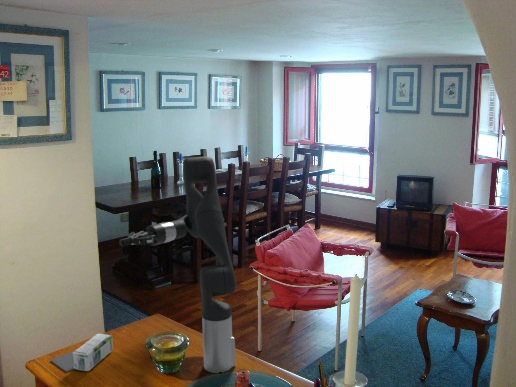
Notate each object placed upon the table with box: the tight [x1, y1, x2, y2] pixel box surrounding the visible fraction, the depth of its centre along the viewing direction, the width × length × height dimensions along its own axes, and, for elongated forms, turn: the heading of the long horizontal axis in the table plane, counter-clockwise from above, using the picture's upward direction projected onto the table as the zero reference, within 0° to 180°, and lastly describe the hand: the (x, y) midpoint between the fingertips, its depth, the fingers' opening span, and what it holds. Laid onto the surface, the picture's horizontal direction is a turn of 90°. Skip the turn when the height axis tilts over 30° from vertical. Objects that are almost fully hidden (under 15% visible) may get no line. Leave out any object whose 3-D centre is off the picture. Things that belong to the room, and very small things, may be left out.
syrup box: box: [73, 333, 114, 372], centre depth 173 cm, size 6×6×14 cm
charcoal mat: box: [50, 349, 77, 373], centre depth 175 cm, size 13×11×1 cm
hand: (120, 243), depth 185 cm, fingers closed
